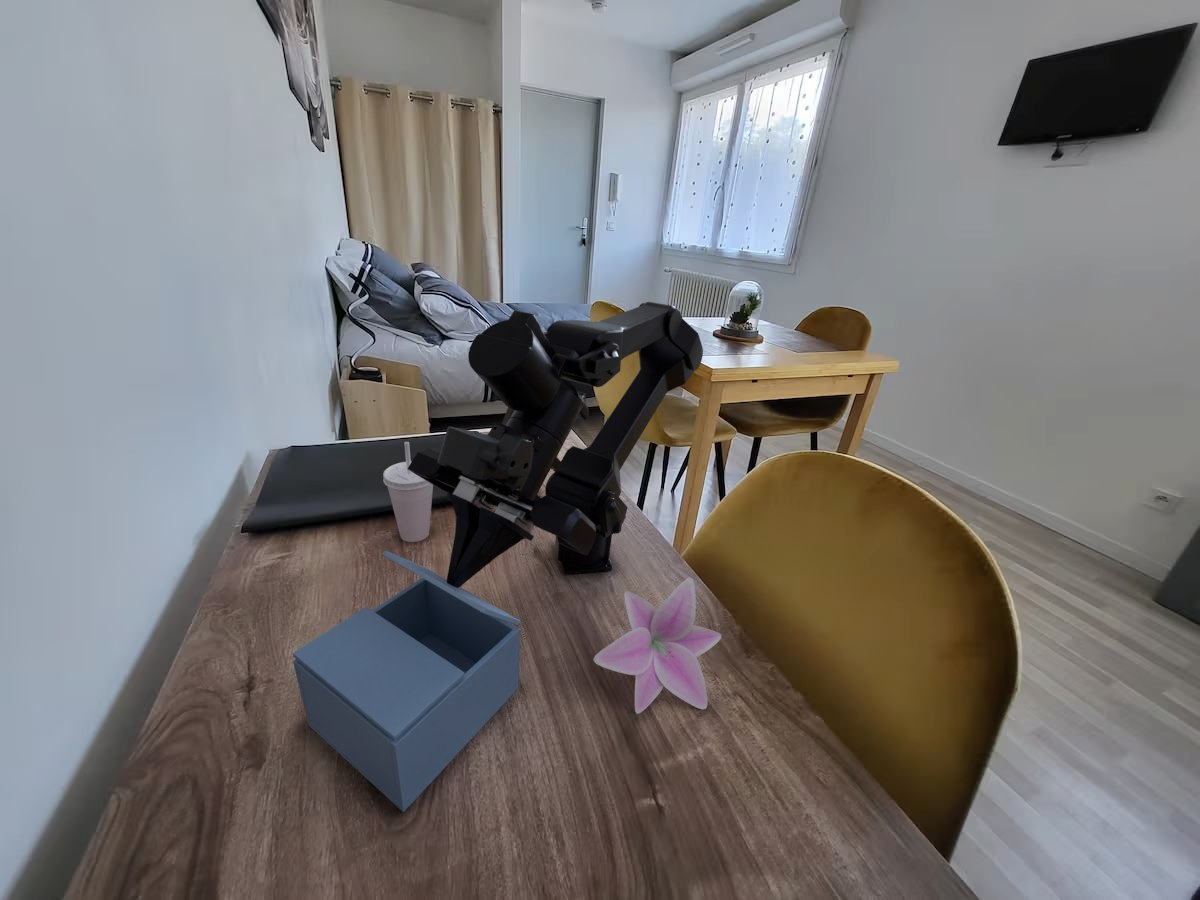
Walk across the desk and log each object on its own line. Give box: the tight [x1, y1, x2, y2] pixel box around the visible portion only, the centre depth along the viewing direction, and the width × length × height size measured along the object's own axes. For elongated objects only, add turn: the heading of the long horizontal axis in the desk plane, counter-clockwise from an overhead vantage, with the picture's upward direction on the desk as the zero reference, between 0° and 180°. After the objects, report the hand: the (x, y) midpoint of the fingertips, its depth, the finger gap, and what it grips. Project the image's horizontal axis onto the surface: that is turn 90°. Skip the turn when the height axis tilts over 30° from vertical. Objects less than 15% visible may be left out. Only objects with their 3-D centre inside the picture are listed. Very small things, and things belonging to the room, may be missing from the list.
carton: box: [292, 577, 521, 813], centre depth 42 cm, size 13×12×8 cm
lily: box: [593, 577, 722, 715], centre depth 47 cm, size 12×12×10 cm
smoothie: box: [382, 441, 434, 543], centre depth 63 cm, size 6×6×14 cm
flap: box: [382, 550, 521, 626], centre depth 42 cm, size 6×12×1 cm
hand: (452, 585), depth 42 cm, fingers closed, pressing on flap
